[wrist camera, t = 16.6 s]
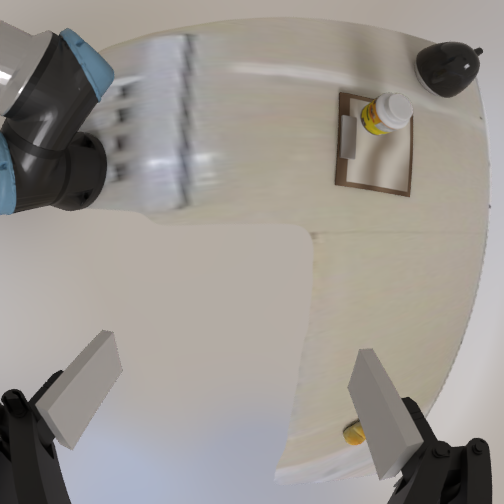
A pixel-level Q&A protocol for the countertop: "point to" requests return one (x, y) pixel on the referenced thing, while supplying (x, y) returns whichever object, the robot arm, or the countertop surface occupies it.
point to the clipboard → (372, 152)
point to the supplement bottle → (386, 114)
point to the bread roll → (354, 434)
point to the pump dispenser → (447, 68)
